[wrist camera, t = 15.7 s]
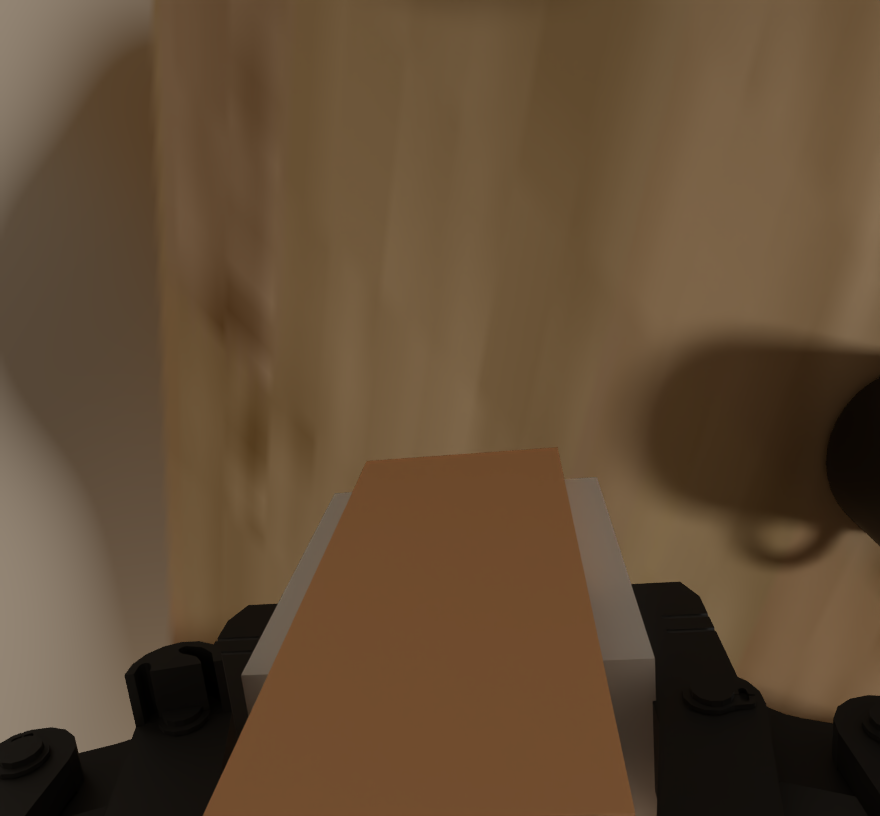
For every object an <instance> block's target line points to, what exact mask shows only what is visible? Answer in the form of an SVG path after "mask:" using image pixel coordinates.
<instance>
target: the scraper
mask: <svg viewBox="0 0 880 816" xmlns="http://www.w3.org/2000/svg"><path fill="white" fill-rule="evenodd" d="M203 816H635V809H634V804H633V800H632V795H631V790H630V785H629V781H628V776H627V771H626V767H625V762H624V757H623V753H622V748H621V743H620V738H619V734H618V729H617V724H616V720H615V715H614V710H613V706H612V701H611V696H610V691H609V687H608V682H607V677H606V673H605V668H604V663H603V659H602V654H601V649H600V644H599V640H598V635H597V630H596V626H595V621H594V616H593V612H592V607H591V602H590V597H589V593H588V588H587V583H586V579H585V574H584V569H583V565H582V560H581V555H580V551H579V546H578V541H577V536H576V532H575V527H574V522H573V518H572V513H571V508H570V504H569V499H568V494H567V489H566V485H565V480H564V475H563V471H562V466H561V461H560V457H559V452H558V447H554V448H540V449H526V450H512V451H499V452H485V453H471V454H457V455H443V456H430V457H416V458H402V459H388V460H375V461H367V462H366V464H365V466H364V468H363V470H362V472H361V475H360V477H359V479H358V481H357V483H356V485H355V487H354V490H353V492H352V494H351V496H350V498H349V500H348V503H347V505H346V507H345V509H344V511H343V513H342V516H341V518H340V520H339V522H338V524H337V526H336V529H335V531H334V533H333V535H332V537H331V539H330V542H329V544H328V546H327V548H326V550H325V552H324V555H323V557H322V559H321V561H320V563H319V565H318V568H317V570H316V572H315V574H314V576H313V578H312V581H311V583H310V585H309V587H308V589H307V591H306V594H305V596H304V598H303V600H302V602H301V604H300V606H299V609H298V611H297V613H296V615H295V617H294V619H293V622H292V624H291V626H290V628H289V630H288V632H287V635H286V637H285V639H284V641H283V643H282V645H281V648H280V650H279V652H278V654H277V656H276V658H275V661H274V663H273V665H272V667H271V669H270V671H269V674H268V676H267V678H266V680H265V682H264V684H263V687H262V689H261V691H260V693H259V695H258V697H257V700H256V702H255V704H254V706H253V708H252V710H251V713H250V715H249V717H248V719H247V721H246V723H245V725H244V728H243V730H242V732H241V734H240V736H239V738H238V741H237V743H236V745H235V747H234V749H233V751H232V754H231V756H230V758H229V760H228V762H227V764H226V767H225V769H224V771H223V773H222V775H221V777H220V780H219V782H218V784H217V786H216V788H215V790H214V793H213V795H212V797H211V799H210V801H209V803H208V806H207V808H206V810H205V812H204V814H203Z"/></svg>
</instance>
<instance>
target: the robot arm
mask: <svg viewBox="0 0 880 816" xmlns="http://www.w3.org/2000/svg"><path fill="white" fill-rule="evenodd" d="M564 480H565V485H566V489H567V494H568V499H569V504H570V508H571V513H572V518H573V522H574V527H575V532H576V536H577V541H578V546H579V551H580V555H581V560H582V565H583V569H584V574H585V579H586V583H587V588H588V593H589V597H590V602H591V607H592V612H593V616H594V621H595V626H596V630H597V635H598V640H599V644H600V649H601V654H602V659H603V663H604V668H605V673H606V677H607V682H608V687H609V691H610V696H611V701H612V706H613V710H614V715H615V720H616V724H617V729H618V734H619V738H620V743H621V748H622V753H623V757H624V762H625V767H626V771H627V776H628V781H629V785H630V790H631V795H632V800H633V804H634V809H635V816H880V696H873V695H867V696H862V697H857V698H852V699H849V700H847V701H846V702H844V703H843V704H841V705H840V706H838V707H837V710H836V713H835V716H834V719H833V724H832V723H826V722H821V721H815V720H809V719H803V718H799V717H794V716H790V715H786V714H783V713H781V712H778V711H775V710H773V709H770V708H768V707H767V706H766V703H765V701H764V699H763V697H762V695H761V693H760V691H759V690H757V689H756V688H755V687H754V686H752V685H751V684H750V683H749V682H748V681H746V680H743V679H741V678H739V677H737V675H736V673H735V670H734V668H733V666H732V664H731V662H730V660H729V658H728V656H727V654H726V651H725V649H724V647H723V645H722V643H721V641H720V639H719V637H718V635H717V632H716V631H715V630H714V626H713V624H712V622H711V620H710V618H709V617H708V614H707V611H706V609H705V607H704V605H703V603H702V601H701V599H700V597H699V596H698V595H697V594H696V593H694V592H693V591H692V590H690V589H689V588H688V587H686V586H685V585H684V584H682V583H681V582H666V583H645V584H631V582H630V579H629V576H628V573H627V570H626V567H625V564H624V561H623V558H622V554H621V551H620V548H619V545H618V542H617V539H616V536H615V533H614V529H613V526H612V523H611V520H610V517H609V514H608V511H607V508H606V505H605V501H604V498H603V495H602V492H601V489H600V486H599V483H598V480H597V477H594V478H577V479H564ZM351 494H352V492H351V493H335V494H334V496H333V498H332V500H331V502H330V504H329V506H328V508H327V510H326V512H325V514H324V515H323V517H322V519H321V521H320V523H319V525H318V527H317V529H316V531H315V533H314V535H313V537H312V539H311V541H310V543H309V545H308V546H307V548H306V550H305V552H304V554H303V556H302V558H301V560H300V562H299V564H298V566H297V568H296V570H295V572H294V574H293V576H292V577H291V579H290V581H289V583H288V585H287V587H286V589H285V591H284V593H283V595H282V597H281V599H280V601H279V603H278V604H263V605H248V606H247V607H245V608H244V609H243V610H242V611H240V612H239V613H238V614H236V615H235V616H234V617H233V618H231V619H230V620H229V621H228V622H227V624H226V625H225V627H224V629H223V630H222V632H221V633H220V635H219V637H218V641H216V642H215V643H214V645H213V644H209V643H204V642H200V641H196V642H181V643H177V644H173V645H169V646H165V647H162V648H160V649H157V650H155V651H153V652H151V653H148V654H146V655H145V656H143V657H142V658H141V659H139V660H138V661H137V662H135V663H134V664H133V665H132V666H131V667H130V668H129V670H128V671H127V673H126V674H125V679H126V684H127V689H128V692H129V698H130V702H131V706H132V711H133V715H134V720H135V724H136V729H135V731H134V734H133V737H132V739H131V740H127V741H125V742H121V743H118V744H114V745H110V746H106V747H103V748H99V749H94V750H90V751H86V752H82V753H78V749H77V745H76V741H75V737H74V736H73V735H72V734H71V733H69V732H68V731H67V730H65V729H58V728H43V729H36V730H30V731H26V732H24V733H22V734H21V733H20V734H17V735H14V736H12V737H10V738H9V739H7V740H6V741H4V742H2V743H0V816H203V814H204V812H205V810H206V808H207V806H208V803H209V801H210V799H211V797H212V795H213V793H214V790H215V788H216V786H217V784H218V782H219V780H220V777H221V775H222V773H223V771H224V769H225V767H226V764H227V762H228V760H229V758H230V756H231V754H232V751H233V749H234V747H235V745H236V743H237V741H238V738H239V736H240V734H241V732H242V730H243V728H244V725H245V723H246V721H247V719H248V717H249V715H250V713H251V710H252V708H253V706H254V704H255V702H256V700H257V697H258V695H259V693H260V691H261V689H262V687H263V684H264V682H265V680H266V678H267V676H268V674H269V671H270V669H271V667H272V665H273V663H274V661H275V658H276V656H277V654H278V652H279V650H280V648H281V645H282V643H283V641H284V639H285V637H286V635H287V632H288V630H289V628H290V626H291V624H292V622H293V619H294V617H295V615H296V613H297V611H298V609H299V606H300V604H301V602H302V600H303V598H304V596H305V594H306V591H307V589H308V587H309V585H310V583H311V581H312V578H313V576H314V574H315V572H316V570H317V568H318V565H319V563H320V561H321V559H322V557H323V555H324V552H325V550H326V548H327V546H328V544H329V542H330V539H331V537H332V535H333V533H334V531H335V529H336V526H337V524H338V522H339V520H340V518H341V516H342V513H343V511H344V509H345V507H346V505H347V503H348V500H349V498H350V496H351Z"/></svg>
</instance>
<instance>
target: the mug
mask: <svg viewBox="0 0 880 816" xmlns="http://www.w3.org/2000/svg"><path fill="white" fill-rule="evenodd" d="M826 466H827V476H828V481H829V484H830V488H831V491H832V493H833V495H834V497H835V499H836V501H837V502H838V504H839V505H840V507H841V508H842V509H843V511H844V512H845V513H846V514H847V515H848V516H849V517H850V518H851V519H852V520H853V521H854V522H855V523H856V524H857V525H858V526H859V527H861V528H862V529H863V530H864V531H865V532H866V533H867V534H868V535H869V536H870V537H871V538H872V539H873V540H874V541H875V542H876V543H877V544H878V545H879V546H880V378H878V379H876V380H875V381H873V382H872V383H870V384H869V385H867V386H866V387H865V388H864V389H862V390H861V391H860V392H859V393H858V394H857V395H856V396H855V397H854V398H853V399H852V400H851V401H850V402H849V404H848V405H847V406H846V407H845V408H844V410H843V411H842V413H841V415H840V416H839V418H838V420H837V421H836V424H835V426H834V428H833V430H832V433H831V436H830V440H829V444H828V449H827V460H826Z"/></svg>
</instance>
